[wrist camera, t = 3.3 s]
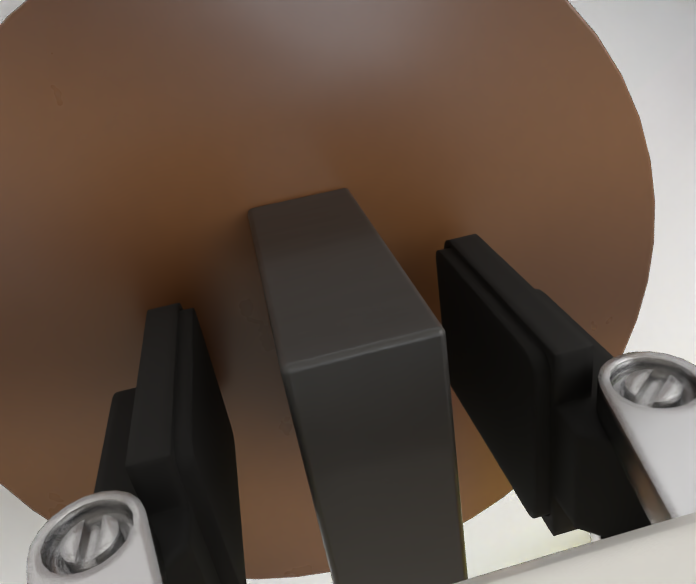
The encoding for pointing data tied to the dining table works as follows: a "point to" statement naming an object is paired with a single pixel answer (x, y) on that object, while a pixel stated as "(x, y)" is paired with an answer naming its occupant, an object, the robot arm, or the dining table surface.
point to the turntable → (303, 242)
